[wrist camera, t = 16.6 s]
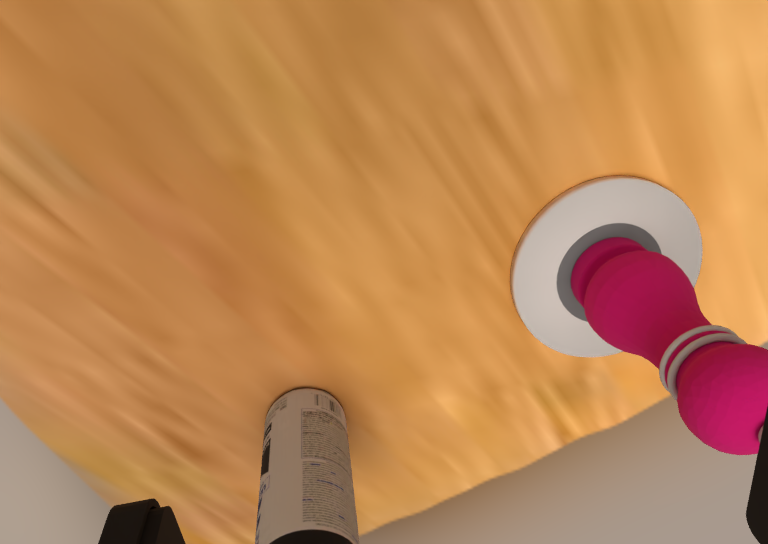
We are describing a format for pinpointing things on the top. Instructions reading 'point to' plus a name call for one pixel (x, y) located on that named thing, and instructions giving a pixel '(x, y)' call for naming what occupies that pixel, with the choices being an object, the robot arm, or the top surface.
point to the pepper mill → (675, 341)
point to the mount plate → (576, 234)
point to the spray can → (306, 473)
